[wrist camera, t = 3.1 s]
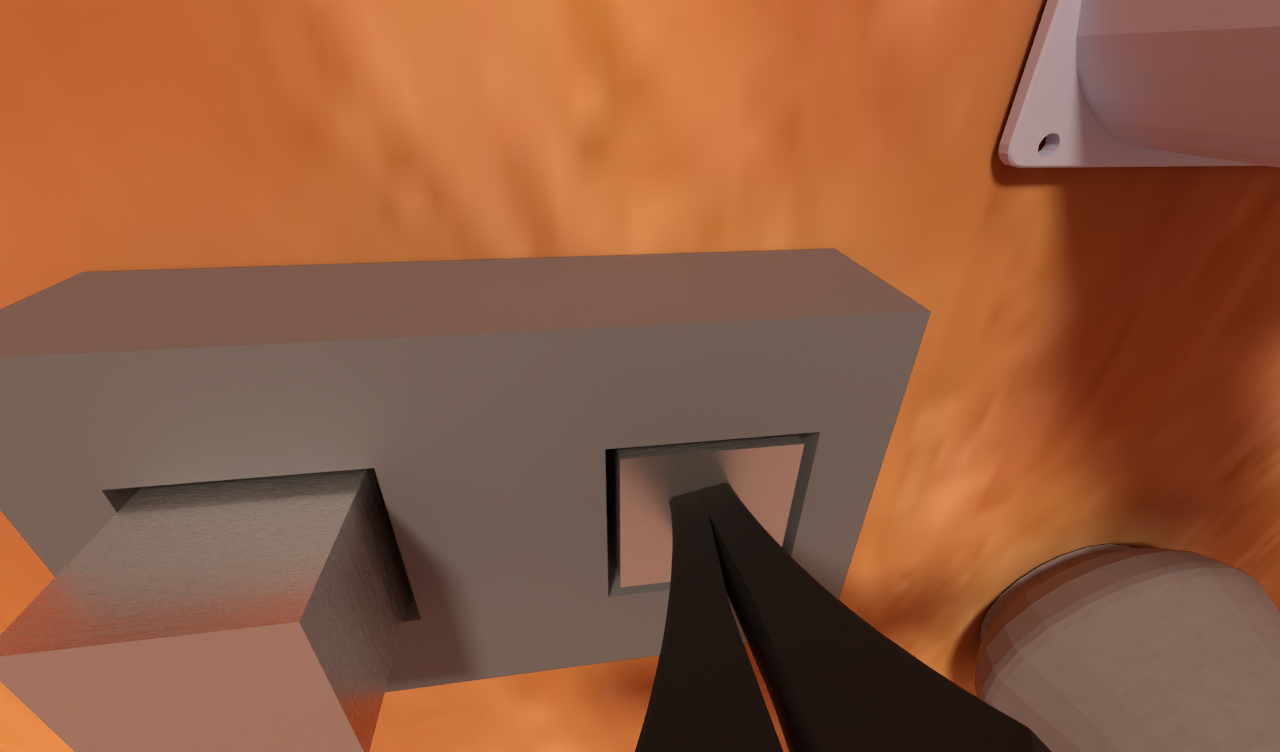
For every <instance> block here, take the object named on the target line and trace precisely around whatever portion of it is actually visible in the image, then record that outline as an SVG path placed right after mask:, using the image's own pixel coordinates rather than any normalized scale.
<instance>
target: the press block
mask: <svg viewBox="0 0 1280 752" xmlns="http://www.w3.org/2000/svg"><path fill="white" fill-rule="evenodd" d="M930 312H931V311H929V310H928V309H926V308H925V307H923V306H922V305H920V304H919V303H917V302H916V301H914V300H913V299H911V298H910V297H908V296H906V295H905V294H903V293H902V292H900V291H899V290H897V289H896V288H894V287H893V286H891V285H890V284H888V283H887V282H885V281H884V280H882V279H880V278H879V277H877V276H876V275H874V274H873V273H871V272H870V271H868V270H867V269H865V268H864V267H862V266H861V265H859V264H857V263H856V262H854V261H853V260H851V259H850V258H848V257H847V256H845V255H844V254H842V253H841V252H839V251H838V250H836V249H806V250H774V251H742V252H710V253H678V254H646V255H614V256H582V257H550V258H518V259H486V260H454V261H422V262H390V263H358V264H326V265H294V266H262V267H230V268H198V269H166V270H134V271H102V272H82V273H79V274H77V275H75V276H73V277H71V278H68V279H66V280H64V281H62V282H60V283H57V284H55V285H53V286H51V287H49V288H46V289H44V290H42V291H40V292H38V293H35V294H33V295H31V296H29V297H26V298H24V299H22V300H20V301H18V302H15V303H13V304H11V305H9V306H7V307H4V308H2V309H0V510H1V511H2V512H3V514H4V515H5V516H6V517H7V519H8V520H9V521H10V522H11V523H12V525H13V526H14V527H15V528H16V530H17V531H18V532H19V533H20V534H21V536H22V537H23V538H24V539H25V541H26V542H27V543H28V544H29V545H30V547H31V548H32V549H33V550H34V552H35V553H36V554H37V555H38V556H39V558H40V559H41V560H42V561H43V563H44V564H45V565H46V566H47V567H48V569H49V570H50V571H51V572H52V574H53V575H54V576H55V577H56V576H57V575H58V574H59V573H60V572H61V571H62V570H63V569H64V568H65V567H66V566H67V565H68V564H69V563H70V562H71V561H72V560H73V558H74V557H75V556H76V555H77V554H78V553H79V552H80V551H81V550H82V549H83V548H84V547H85V546H86V545H87V544H88V543H89V542H90V541H91V540H92V539H93V538H94V536H95V535H96V534H97V533H98V532H99V531H100V530H101V529H102V528H103V527H104V526H105V525H106V524H107V523H108V522H109V521H110V520H111V519H112V518H113V517H114V516H115V514H116V513H117V512H118V511H119V510H120V509H121V508H122V507H123V506H124V505H125V504H126V503H127V502H128V501H129V500H130V499H131V498H132V497H133V496H134V495H135V494H136V492H137V491H138V490H139V489H140V488H141V487H146V486H158V485H170V484H183V483H195V482H208V481H220V480H232V479H245V478H257V477H269V476H282V475H294V474H306V473H319V472H331V471H343V470H356V469H368V468H374V469H375V472H376V476H377V479H378V482H379V485H380V488H381V492H382V495H383V498H384V501H385V505H386V508H387V511H388V514H389V517H390V521H391V524H392V527H393V530H394V534H395V537H396V540H397V543H398V546H399V550H400V553H401V556H402V559H403V563H404V566H405V569H406V572H407V575H408V579H409V582H410V585H411V592H410V596H409V600H408V604H407V608H406V612H405V615H404V619H403V623H402V627H401V631H400V635H399V639H398V643H397V646H396V650H395V654H394V658H393V662H392V666H391V670H390V673H389V677H388V681H387V685H386V689H385V692H391V691H398V690H406V689H413V688H421V687H428V686H435V685H443V684H450V683H457V682H465V681H472V680H480V679H487V678H494V677H502V676H509V675H516V674H524V673H531V672H539V671H546V670H553V669H561V668H568V667H575V666H583V665H590V664H598V663H605V662H612V661H620V660H627V659H634V658H642V657H649V656H657V655H660V652H661V647H662V641H663V635H664V629H665V623H666V616H667V608H668V600H669V591H670V582H664V583H655V584H647V585H638V586H629V587H621V588H620V580H619V573H618V566H617V559H616V551H615V544H614V537H613V530H612V523H611V515H610V508H609V501H608V494H607V486H606V467H605V449H615V448H628V447H640V446H653V445H665V444H677V443H690V442H702V441H714V440H727V439H739V438H751V437H764V436H776V435H788V434H798V435H799V436H800V438H801V439H802V441H803V442H804V448H803V453H802V458H801V462H800V467H799V471H798V476H797V480H796V485H795V490H794V494H793V499H792V503H791V508H790V512H789V517H788V522H787V526H786V531H785V535H784V540H783V545H782V548H783V549H784V550H785V551H786V552H787V553H788V554H789V555H790V556H791V557H792V558H793V559H794V560H795V561H796V562H797V563H798V564H799V565H800V566H801V567H802V568H803V569H804V570H806V571H807V572H808V573H809V574H810V575H811V576H812V577H813V578H814V579H815V580H816V581H817V582H819V583H820V584H821V585H822V586H823V587H824V588H825V589H826V590H828V591H829V592H830V593H831V594H832V595H833V596H835V597H836V598H837V599H838V600H839V597H840V594H841V591H842V587H843V584H844V581H845V578H846V575H847V572H848V569H849V566H850V562H851V559H852V556H853V553H854V550H855V547H856V544H857V541H858V537H859V534H860V531H861V528H862V525H863V522H864V519H865V516H866V512H867V509H868V506H869V503H870V500H871V497H872V494H873V491H874V487H875V484H876V481H877V478H878V475H879V472H880V469H881V466H882V462H883V459H884V456H885V453H886V450H887V447H888V444H889V441H890V437H891V434H892V431H893V428H894V425H895V422H896V419H897V416H898V412H899V409H900V406H901V403H902V400H903V397H904V394H905V390H906V387H907V384H908V381H909V378H910V375H911V372H912V369H913V365H914V362H915V359H916V356H917V353H918V350H919V347H920V344H921V340H922V337H923V334H924V331H925V328H926V325H927V322H928V319H929V315H930ZM727 596H728V595H727ZM728 599H729V598H728ZM729 603H730V606H731V610H732V613H733V615H734V618H735V621H736V624H737V627H738V630H739V632H740V635H741V638H742V641H743V644H745V643H748V642H747V640H746V637H745V635H744V633H743V630H742V628H741V626H740V623H739V621H738V619H737V616H736V614H735V612H734V609H733V607H732V605H731V602H730V600H729Z"/></svg>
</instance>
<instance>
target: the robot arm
mask: <svg viewBox="0 0 1280 752" xmlns="http://www.w3.org/2000/svg"><path fill="white" fill-rule="evenodd" d="M1044 137H1046V143H1045V145H1044V147H1043V148H1042V150H1040V151H1039V152H1038V147H1039V144H1040V143H1041V141H1042V139H1043V138H1044ZM998 153H999V158H1000V160H1001V161H1002V162H1003V163H1004V164H1005V165H1009V166H1014V167H1018V168H1067V167H1169V166H1271V167H1278V168H1280V0H1047V3H1046V6H1045V9H1044V12H1043V15H1042V18H1041V21H1040V24H1039V27H1038V30H1037V33H1036V36H1035V39H1034V42H1033V45H1032V48H1031V51H1030V54H1029V57H1028V60H1027V63H1026V66H1025V69H1024V72H1023V75H1022V78H1021V81H1020V84H1019V87H1018V90H1017V93H1016V96H1015V99H1014V102H1013V105H1012V108H1011V111H1010V114H1009V117H1008V120H1007V123H1006V126H1005V129H1004V132H1003V135H1002V138H1001V141H1000V145H999V151H998ZM669 505H670V509H671V518H672V567H671V582H670V591H669V600H668V608H667V616H666V623H665V629H664V635H663V641H662V647H661V652H660V657H659V662H658V667H657V671H656V675H655V680H654V684H653V688H652V693H651V697H650V701H649V705H648V709H647V713H646V716H645V720H644V723H643V727H642V730H641V733H640V737H639V740H638V743H637V747H636V750H635V752H783V750H782V747H781V744H780V742H779V739H778V736H777V734H776V731H775V728H774V726H773V723H772V720H771V718H770V715H769V712H768V709H767V707H766V704H765V701H764V699H763V696H762V693H761V691H760V688H759V685H758V682H757V680H756V677H755V674H754V671H753V669H752V666H751V663H750V660H749V657H748V655H747V652H746V649H745V646H744V644H743V641H742V638H741V635H740V632H739V630H738V627H737V624H736V621H735V618H734V615H733V613H732V610H731V606H730V603H729V600H730V602H731V605H732V607H733V609H734V612H735V614H736V616H737V619H738V621H739V623H740V626H741V628H742V630H743V633H744V635H745V637H746V640H747V642H748V644H749V647H750V649H751V651H752V654H753V656H754V658H755V661H756V663H757V665H758V668H759V670H760V672H761V675H762V677H763V679H764V682H765V684H766V687H767V689H768V692H769V694H770V697H771V700H772V702H773V705H774V708H775V710H776V713H777V716H778V719H779V722H780V725H781V728H782V731H783V734H784V737H785V740H786V743H787V746H788V749H789V752H1052V751H1051V750H1050V749H1049V748H1048V747H1047V746H1046V745H1045V744H1044V743H1043V742H1042V741H1041V740H1040V739H1039V738H1038V737H1037V735H1036V734H1035V733H1034V732H1033V731H1032V730H1031V729H1030V728H1028V727H1027V726H1025V725H1024V724H1022V723H1020V722H1018V721H1017V720H1015V719H1013V718H1011V717H1010V716H1008V715H1006V714H1004V713H1003V712H1001V711H999V710H998V709H996V708H994V707H992V706H991V705H989V704H987V703H986V702H984V701H982V700H981V699H979V698H977V697H976V696H974V695H972V694H971V693H969V692H967V691H966V690H964V689H963V688H961V687H959V686H958V685H956V684H955V683H953V682H952V681H950V680H949V679H947V678H945V677H944V676H942V675H941V674H939V673H938V672H936V671H934V670H933V669H931V668H930V667H928V666H927V665H925V664H924V663H923V662H921V661H920V660H918V659H917V658H915V657H914V656H913V655H911V654H910V653H908V652H907V651H905V650H904V649H903V648H901V647H900V646H898V645H897V644H895V643H894V642H893V641H891V640H890V639H888V638H887V637H885V636H884V635H883V634H881V633H880V632H879V631H877V630H876V629H875V628H873V627H872V626H871V625H869V624H868V623H867V622H866V621H864V620H863V619H862V618H860V617H859V616H858V615H856V614H855V613H854V612H853V611H852V610H850V609H849V608H848V607H847V606H845V605H844V604H843V603H842V602H841V601H839V600H838V599H837V598H836V597H835V596H833V595H832V594H831V593H830V592H829V591H828V590H826V589H825V588H824V587H823V586H822V585H821V584H820V583H819V582H817V581H816V580H815V579H814V578H813V577H812V576H811V575H810V574H809V573H808V572H807V571H806V570H804V569H803V568H802V567H801V566H800V565H799V564H798V563H797V562H796V561H795V560H794V559H793V558H792V557H791V556H790V555H789V554H788V553H787V552H786V551H785V550H784V549H783V548H782V547H781V546H780V545H779V544H778V543H777V542H776V540H775V539H774V538H773V537H772V536H771V535H770V534H769V533H768V532H767V531H766V530H765V529H764V528H763V526H762V525H761V524H760V523H759V522H758V521H757V520H756V518H755V517H754V516H753V515H752V514H751V512H750V511H749V510H748V509H747V507H746V506H745V505H744V504H743V502H742V501H741V500H740V498H739V497H738V496H737V494H736V493H735V491H734V490H733V489H732V487H731V485H729V484H727V483H725V482H724V483H721V484H717V485H713V486H710V487H706V488H703V489H699V490H696V491H692V492H688V493H685V494H681V495H678V496H674V497H672V498H671V500H670V501H669ZM727 595H728V596H727ZM728 598H729V599H728Z"/></svg>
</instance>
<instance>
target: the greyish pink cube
mask: <svg viewBox="0 0 1280 752" xmlns="http://www.w3.org/2000/svg"><path fill="white" fill-rule="evenodd" d="M410 592H411V585H410V582H409V579H408V575H407V572H406V569H405V566H404V563H403V559H402V556H401V553H400V550H399V546H398V543H397V540H396V537H395V534H394V530H393V527H392V524H391V521H390V517H389V514H388V511H387V508H386V505H385V501H384V498H383V495H382V492H381V488H380V485H379V482H378V479H377V476H376V472H375V469H374V468H368V469H356V470H343V471H331V472H319V473H306V474H294V475H282V476H269V477H257V478H245V479H232V480H220V481H208V482H195V483H183V484H170V485H158V486H146V487H141V488H140V489H139V490H138V491H137V492H136V494H135V495H134V496H133V497H132V498H131V499H130V500H129V501H128V502H127V503H126V504H125V505H124V506H123V507H122V508H121V509H120V510H119V511H118V512H117V513H116V514H115V516H114V517H113V518H112V519H111V520H110V521H109V522H108V523H107V524H106V525H105V526H104V527H103V528H102V529H101V530H100V531H99V532H98V533H97V534H96V535H95V536H94V538H93V539H92V540H91V541H90V542H89V543H88V544H87V545H86V546H85V547H84V548H83V549H82V550H81V551H80V552H79V553H78V554H77V555H76V556H75V557H74V558H73V560H72V561H71V562H70V563H69V564H68V565H67V566H66V567H65V568H64V569H63V570H62V571H61V572H60V573H59V574H58V575H57V576H56V577H55V578H54V579H53V580H52V582H51V583H50V584H49V585H48V586H47V587H46V588H45V589H44V590H43V591H42V592H41V593H40V594H39V595H38V596H37V597H36V598H35V599H34V600H33V601H32V603H31V604H30V605H29V606H28V607H27V608H26V609H25V610H24V611H23V612H22V613H21V614H20V615H19V616H18V617H17V618H16V619H15V620H14V621H13V622H12V623H11V625H10V626H9V627H8V628H7V629H6V630H5V631H4V632H3V633H2V634H1V635H0V681H1V682H2V683H3V684H4V685H5V686H6V687H7V688H8V689H9V690H10V691H11V692H13V693H14V694H15V695H16V696H17V697H18V698H19V699H20V700H21V701H22V702H23V703H24V704H25V705H26V706H27V707H28V708H29V709H30V710H32V711H33V712H34V713H35V714H36V715H37V716H38V717H39V718H40V719H41V720H42V721H43V722H44V723H45V724H46V725H47V726H48V727H49V728H50V729H52V730H53V731H54V732H55V733H56V734H57V735H58V736H59V737H60V738H61V739H62V740H63V741H64V742H65V743H66V744H67V745H68V746H69V747H71V748H72V749H73V750H74V751H75V752H369V751H370V747H371V743H372V739H373V735H374V731H375V728H376V724H377V720H378V716H379V712H380V708H381V704H382V701H383V697H384V693H385V689H386V685H387V681H388V677H389V673H390V670H391V666H392V662H393V658H394V654H395V650H396V646H397V643H398V639H399V635H400V631H401V627H402V623H403V619H404V615H405V612H406V608H407V604H408V600H409V596H410Z"/></svg>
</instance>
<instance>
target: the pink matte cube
mask: <svg viewBox="0 0 1280 752" xmlns="http://www.w3.org/2000/svg"><path fill="white" fill-rule="evenodd" d="M803 448H804V442H803V441H802V439H801V438H800V436H799V435H798V434H788V435H776V436H764V437H751V438H739V439H727V440H714V441H702V442H690V443H677V444H665V445H653V446H640V447H628V448H615V449H605V451H606V486H607V494H608V501H609V508H610V515H611V523H612V530H613V537H614V544H615V551H616V559H617V566H618V573H619V580H620V588H621V587H629V586H638V585H647V584H655V583H664V582H671V567H672V518H671V509H670V505H669V501H670V500H671V498H672V497H674V496H678V495H681V494H685V493H688V492H692V491H696V490H699V489H703V488H706V487H710V486H713V485H717V484H721V483H724V482H725V483H727V484H729V485H731V487H732V489H733V490H734V491H735V493H736V494H737V496H738V497H739V498H740V500H741V501H742V502H743V504H744V505H745V506H746V507H747V509H748V510H749V511H750V512H751V514H752V515H753V516H754V517H755V518H756V520H757V521H758V522H759V523H760V524H761V525H762V526H763V528H764V529H765V530H766V531H767V532H768V533H769V534H770V535H771V536H772V537H773V538H774V539H775V540H776V542H777V543H778V544H779V545H780V546H781V547H782V545H783V540H784V535H785V531H786V526H787V522H788V517H789V512H790V508H791V503H792V499H793V494H794V490H795V485H796V480H797V476H798V471H799V467H800V462H801V458H802V453H803Z"/></svg>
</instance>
